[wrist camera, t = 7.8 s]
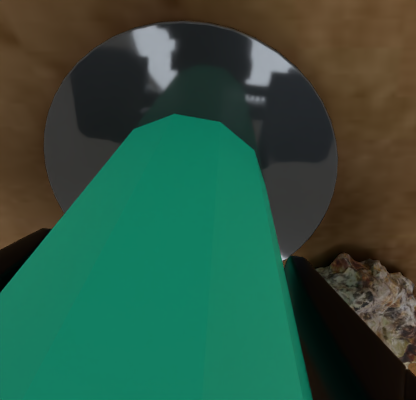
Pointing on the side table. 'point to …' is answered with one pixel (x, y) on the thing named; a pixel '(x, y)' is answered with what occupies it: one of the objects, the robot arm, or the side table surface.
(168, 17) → the side table surface
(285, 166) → the slate coaster
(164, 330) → the candle
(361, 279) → the mineral rock
